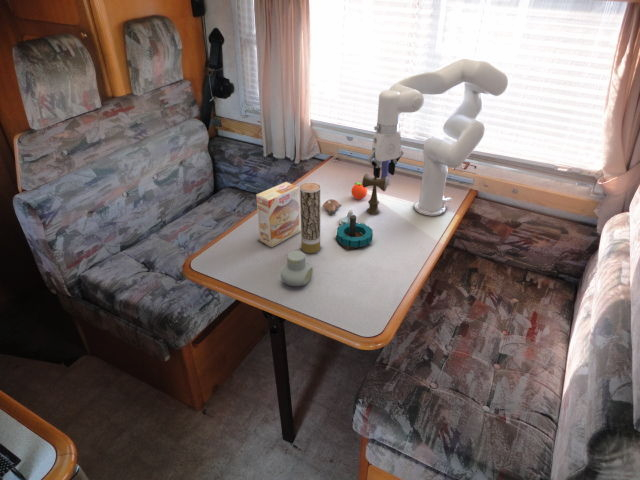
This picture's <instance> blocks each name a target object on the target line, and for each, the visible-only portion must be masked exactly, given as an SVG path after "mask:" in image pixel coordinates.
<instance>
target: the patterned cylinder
mask: <svg viewBox="0 0 640 480" xmlns="http://www.w3.org/2000/svg"><path fill="white" fill-rule="evenodd" d="M299 206H300V239H301V240H300V241H301V250H302V252H303V253H305V254H316V253H318V252H319V251H320V250H321V185H320V184H318V183H316V182H304V183H302V184H300V186H299Z"/></svg>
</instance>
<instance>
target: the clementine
mask: <svg viewBox="0 0 640 480" xmlns="http://www.w3.org/2000/svg"><path fill="white" fill-rule="evenodd" d="M350 192H351V196H352V197H353V198H354V199H356V200H363V199H365V197H367V194H368V187H365V188H364V187H363V185H362V183H360V182H355V183H354V185H352V188H351V191H350Z"/></svg>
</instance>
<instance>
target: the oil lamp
mask: <svg viewBox="0 0 640 480" xmlns="http://www.w3.org/2000/svg"><path fill="white" fill-rule="evenodd" d="M322 207H323V208H324V209H325V210H327V211H328V215H331V216H332V215H336V210H338V209H339V208H341V207H342V204H341V203H340V202H339V201H338V200H336V199H332V198H331V199H327V200H326V201H325V202H324V203H323V204H322Z"/></svg>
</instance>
